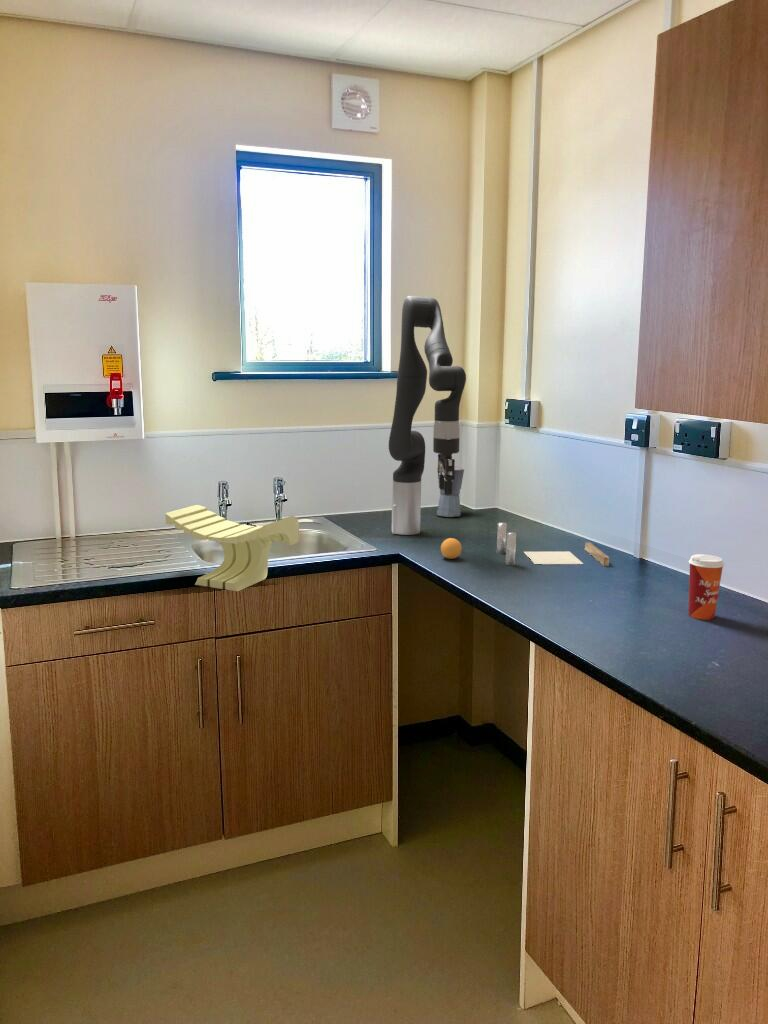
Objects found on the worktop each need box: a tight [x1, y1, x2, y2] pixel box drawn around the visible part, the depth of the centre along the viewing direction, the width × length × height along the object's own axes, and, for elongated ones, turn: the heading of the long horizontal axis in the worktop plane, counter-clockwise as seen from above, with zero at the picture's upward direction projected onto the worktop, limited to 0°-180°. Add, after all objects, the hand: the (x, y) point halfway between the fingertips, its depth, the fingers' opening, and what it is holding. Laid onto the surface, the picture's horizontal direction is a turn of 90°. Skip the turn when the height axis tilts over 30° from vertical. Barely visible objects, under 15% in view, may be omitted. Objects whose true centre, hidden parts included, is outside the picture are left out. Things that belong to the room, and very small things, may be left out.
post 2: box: [505, 531, 517, 566], centre depth 236 cm, size 3×3×9 cm
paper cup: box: [688, 553, 725, 621], centre depth 192 cm, size 8×8×14 cm
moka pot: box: [436, 465, 465, 518], centre depth 299 cm, size 10×15×20 cm, turn 174°
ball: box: [440, 537, 463, 560], centre depth 241 cm, size 6×6×6 cm
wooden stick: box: [584, 541, 610, 567], centre depth 244 cm, size 2×18×2 cm, turn 3°
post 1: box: [496, 521, 508, 555], centre depth 248 cm, size 3×3×9 cm
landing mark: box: [523, 550, 584, 565], centre depth 244 cm, size 14×14×1 cm
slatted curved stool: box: [165, 504, 300, 592], centre depth 216 cm, size 30×16×18 cm, turn 65°
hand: (445, 491), depth 243 cm, fingers open, 8 cm apart
